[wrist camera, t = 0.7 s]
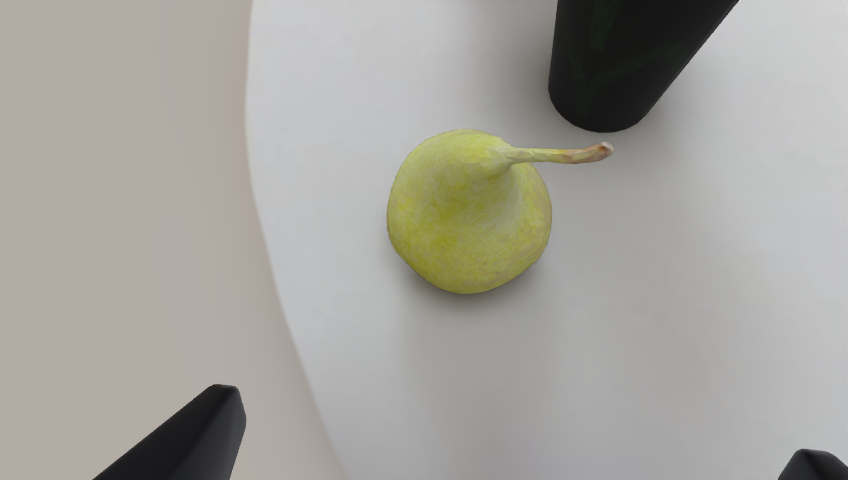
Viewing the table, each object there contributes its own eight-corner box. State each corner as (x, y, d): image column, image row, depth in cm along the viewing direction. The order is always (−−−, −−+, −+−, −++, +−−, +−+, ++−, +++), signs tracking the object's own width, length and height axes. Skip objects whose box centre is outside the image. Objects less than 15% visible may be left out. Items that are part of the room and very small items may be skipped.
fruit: (429, 159, 27) (409, -29, 16) (569, 211, 26) (654, 44, 15) (374, 273, 25) (307, 152, 14) (521, 335, 24) (577, 255, 13)
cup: (692, 140, 27) (864, -69, 15) (542, 159, 27) (603, -34, 16) (654, 21, 29) (776, -234, 18) (517, 38, 29) (554, -202, 18)
